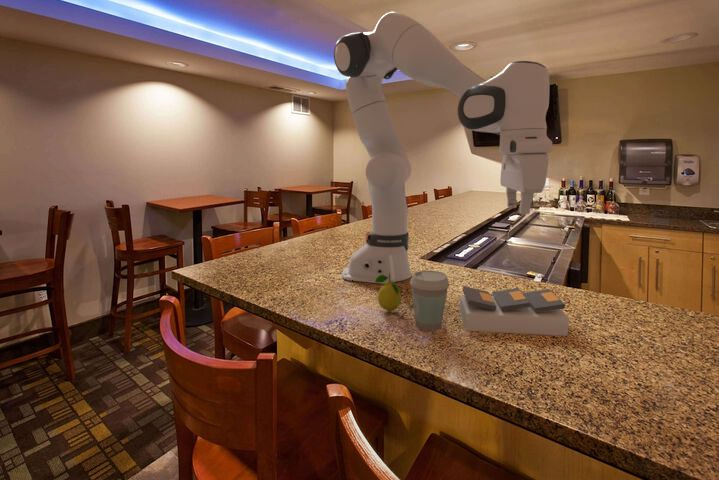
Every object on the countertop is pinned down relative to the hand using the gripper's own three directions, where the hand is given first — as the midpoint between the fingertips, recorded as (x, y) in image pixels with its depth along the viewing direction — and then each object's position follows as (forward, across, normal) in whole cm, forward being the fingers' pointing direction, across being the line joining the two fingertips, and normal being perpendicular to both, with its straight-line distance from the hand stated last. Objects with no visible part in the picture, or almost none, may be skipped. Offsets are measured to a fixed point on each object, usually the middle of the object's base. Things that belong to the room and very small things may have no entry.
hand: (517, 210), depth 80 cm
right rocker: (+20, 0, +7) cm, 21 cm away
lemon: (+26, -2, -28) cm, 38 cm away
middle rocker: (+20, 0, 0) cm, 20 cm away
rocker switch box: (+26, +1, 0) cm, 26 cm away
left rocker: (+20, 0, -7) cm, 22 cm away
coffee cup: (+26, +5, -19) cm, 32 cm away
